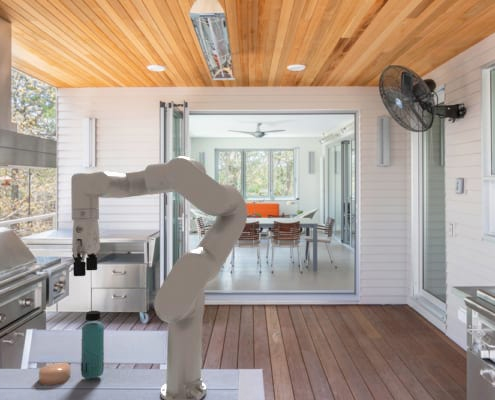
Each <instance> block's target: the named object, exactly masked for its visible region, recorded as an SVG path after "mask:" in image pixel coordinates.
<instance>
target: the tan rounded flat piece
mask: <svg viewBox="0 0 495 400" xmlns="http://www.w3.org/2000/svg"><path fill="white" fill-rule="evenodd" d="M71 370H72V369H71V364H69V363H66V362H54V363H50V364H46V365H44V366H43V367H41V368H40V369H39V371H38V383H39V384H40V385H43V386H56V385H59V384H63V383H66V382H67V381H69V380H70V379H71V376H72V375H71ZM69 378H70V379H69ZM68 379H69V380H68Z"/></svg>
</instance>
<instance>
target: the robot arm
mask: <svg viewBox="0 0 495 400" xmlns="http://www.w3.org/2000/svg"><path fill="white" fill-rule="evenodd" d="M70 181H71V184H70V185H71V189H70V190H71V196H70V197H71V198H70V199H71V221H73V223H72V225H73V226H72V247H71V253H72V262H73V265H72V266H73V276H74V277H85V276H86V273H87V272H86V271H97V270H98V252H99V251H100V250H101V243H100V241H101V239H100V227H99V225H100V224H99V221H98V220H100V216H99V215H100V203H99V202H100V201H99V200H100V199H99V198H105V199H106V198H107V199H110V198H112V199H123V198H132V197H141V196H146V195H147V196H149V195H159V194H166V193H174V192H177V193H178V194H179V195H180V196H181V197H183V198H184V199H185V200H186V201H188V202H189V203H190V204H192V206H194V207H195V208H196V209H197V210H199V211H200V212H202V213H204V214H205V215H207V216H212V217H215V219H214V221H213V222H212V223H211V225H210V226H209V227H208V229H207V230H206V232H205V233H204V236H203V237H202V239H201V240H200V242H199V243H198V245H197V246H196V247H195V248H193V249H191V250H189V251H186V252H184V253H183V254H182V255H181V256H180V257H179V258H178V259H177V260H176V261H175V263H174V265H173V266H172V268H171V269H170V271H169V272H168V274H167V276H166V278H165V279H164V281H163V282H162V284H161V286H160V288H159V289H158V291H157V293H156V295H155V298H154V305H153V306H154V310H155V313H156V316H157V317H158V318H159V319H160V320H161V321H162V322H165V323H167V332H166V333H167V335H166V378H165V379H166V383H165V384H163V385H162V386H161V387H160V397H161V398H162V399H164V400H201V399H202V398H203V397H204V396H205V395H206V393H207V386H206V384H205V383H204V382H203V378H202V341H203V340H202V339H203V338H202V337H203V319H204V309H205V302H206V298H205V297H206V296H205V295H206V293H205V289H204V287H205V286H206V285H207V284H208V283H210V282H211V281H213V280H214V279H215V278H216V277H217V276H218V275H219V274H220V271H221V269H222V268H223V266H224V264H225V263H226V261H227V259H228V257H230V254H231V253H232V251H233V249H234V247H235V246H236V244H237V242H238V240H239V239H240V237H241V236H242V234H243V232H244V229H245V227H246V223H247V221H248V220H247V219H248V209H247V203H246V200H245V197H243V195H242V193H241V191H239V190H238V189H237V188H236V187H234V186H233V185H230V184H227V183H220V182H218V181H216V179H214V178H213V177H211V176H210V175H208V174H207V171H206V168H205V166H204V164H203V163H201V161H199V160H197V159H193V158H190V157H188V156H187V157H186V156H175V157H174V158H172V159H170V160H169V161H167V162H161V163H160V162H159V163H153V164H148V165H147V166H146V167H145V169H144V170H140V171H133V172H126V173H123V172H121V173H119V172H112V171H96V172H90V173H89V172H87V173H84V172H79V173H74V174H73V175H72V176H71V180H70Z"/></svg>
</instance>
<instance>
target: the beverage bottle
mask: <svg viewBox="0 0 495 400" xmlns="http://www.w3.org/2000/svg"><path fill="white" fill-rule="evenodd" d="M99 320H101V311H99V310H90V311H87V312H86V314H85V321H88V322H86V323H84V324H83V325H82V326H81V344H80V345H81V358H80V375H81V377H82V378H85V379H94V378H95V379H96V378H98V377H101V376H102V375H103V373H104V371H105V360H104V359H105V355H104V354H105V352H104V351H105V346H104V345H105V344H104V341H105V339H104V338H105V337H104V336H105V334H104V333H105V325H104V324H103V323H102V322H101V321H99Z"/></svg>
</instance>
